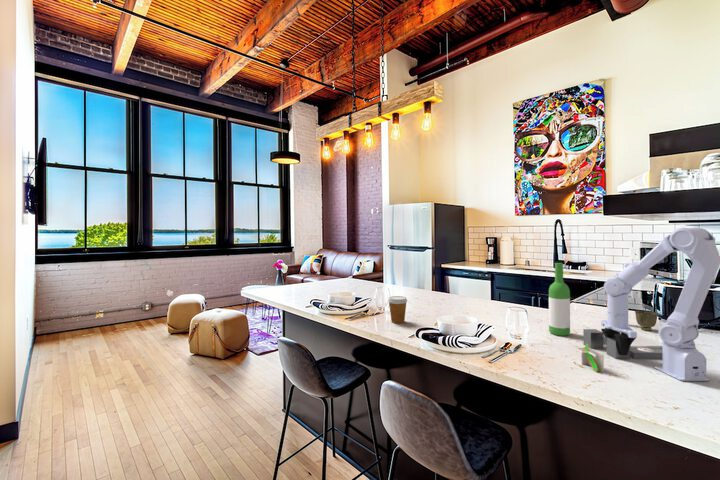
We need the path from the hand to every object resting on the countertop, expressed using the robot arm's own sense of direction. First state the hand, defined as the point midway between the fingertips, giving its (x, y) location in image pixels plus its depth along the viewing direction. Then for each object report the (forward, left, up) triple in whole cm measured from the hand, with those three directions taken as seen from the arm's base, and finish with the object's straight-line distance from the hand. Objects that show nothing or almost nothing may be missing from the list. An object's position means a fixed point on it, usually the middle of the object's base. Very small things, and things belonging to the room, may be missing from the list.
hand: (617, 352), depth 116 cm
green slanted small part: (-10, +15, -2) cm, 18 cm away
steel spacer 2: (0, 0, -1) cm, 1 cm away
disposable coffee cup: (+46, +73, -2) cm, 86 cm away
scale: (+8, -12, -1) cm, 14 cm away
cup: (+31, -33, -2) cm, 45 cm away
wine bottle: (+26, +6, -2) cm, 27 cm away
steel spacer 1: (+10, +2, -2) cm, 10 cm away
